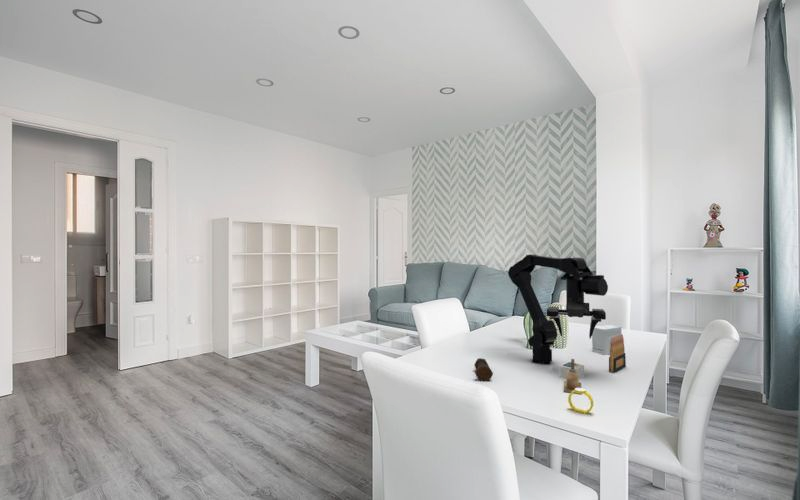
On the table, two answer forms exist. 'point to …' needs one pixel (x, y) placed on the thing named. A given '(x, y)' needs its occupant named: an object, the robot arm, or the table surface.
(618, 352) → the ammunition clip
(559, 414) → the table surface
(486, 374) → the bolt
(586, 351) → the table surface
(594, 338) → the skincare box
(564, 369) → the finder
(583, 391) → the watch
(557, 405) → the table surface
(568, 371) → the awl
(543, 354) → the robot arm
